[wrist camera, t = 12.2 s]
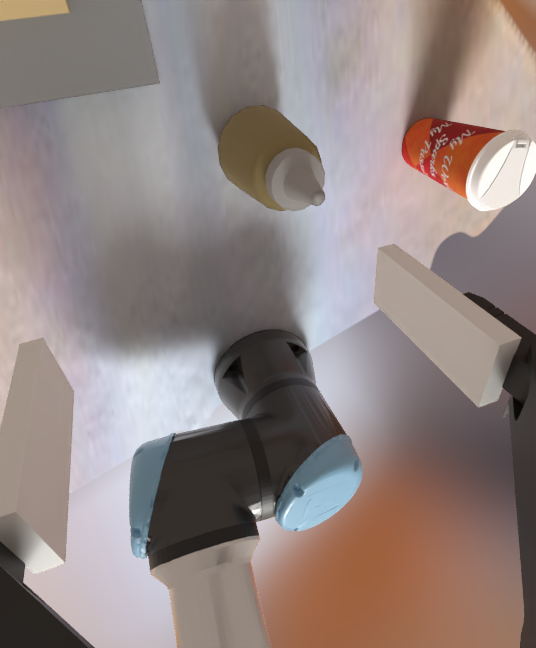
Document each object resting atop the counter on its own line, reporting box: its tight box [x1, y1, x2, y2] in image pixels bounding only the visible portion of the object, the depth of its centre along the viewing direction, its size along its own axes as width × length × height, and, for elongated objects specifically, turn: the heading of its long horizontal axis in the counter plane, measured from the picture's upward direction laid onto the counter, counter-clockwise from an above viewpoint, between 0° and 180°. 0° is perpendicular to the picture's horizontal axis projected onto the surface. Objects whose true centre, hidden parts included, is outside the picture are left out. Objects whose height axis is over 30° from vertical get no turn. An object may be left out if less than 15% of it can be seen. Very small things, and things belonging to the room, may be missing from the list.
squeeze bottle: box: [218, 105, 325, 211], centre depth 37 cm, size 8×8×18 cm
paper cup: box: [402, 118, 536, 211], centre depth 45 cm, size 8×8×14 cm
